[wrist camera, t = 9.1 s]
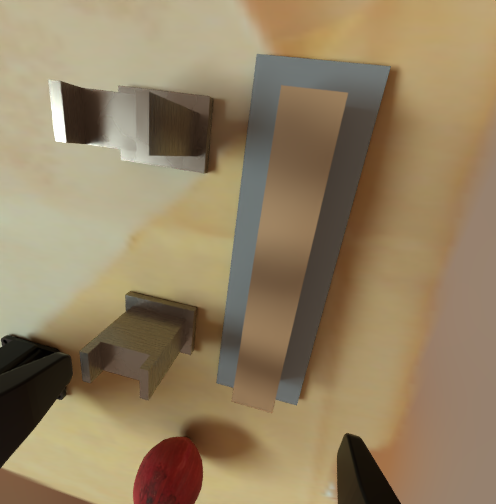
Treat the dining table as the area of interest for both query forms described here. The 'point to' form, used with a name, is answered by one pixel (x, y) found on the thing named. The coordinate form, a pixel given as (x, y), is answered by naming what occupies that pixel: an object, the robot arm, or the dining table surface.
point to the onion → (169, 473)
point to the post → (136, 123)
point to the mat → (332, 209)
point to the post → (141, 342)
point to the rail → (285, 236)
